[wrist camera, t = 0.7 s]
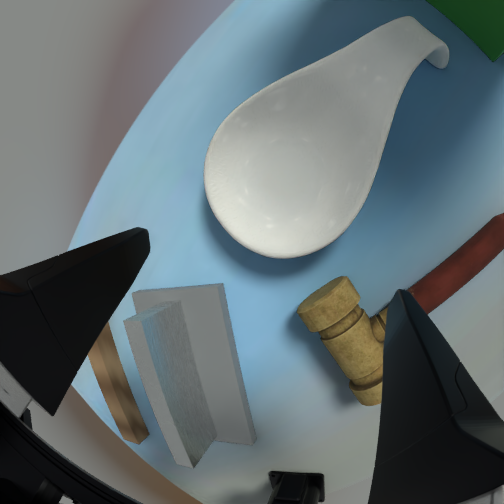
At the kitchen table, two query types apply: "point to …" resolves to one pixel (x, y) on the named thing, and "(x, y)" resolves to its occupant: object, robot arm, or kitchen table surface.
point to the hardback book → (477, 22)
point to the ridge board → (211, 355)
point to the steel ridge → (172, 380)
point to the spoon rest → (313, 142)
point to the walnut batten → (116, 388)
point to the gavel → (373, 330)
